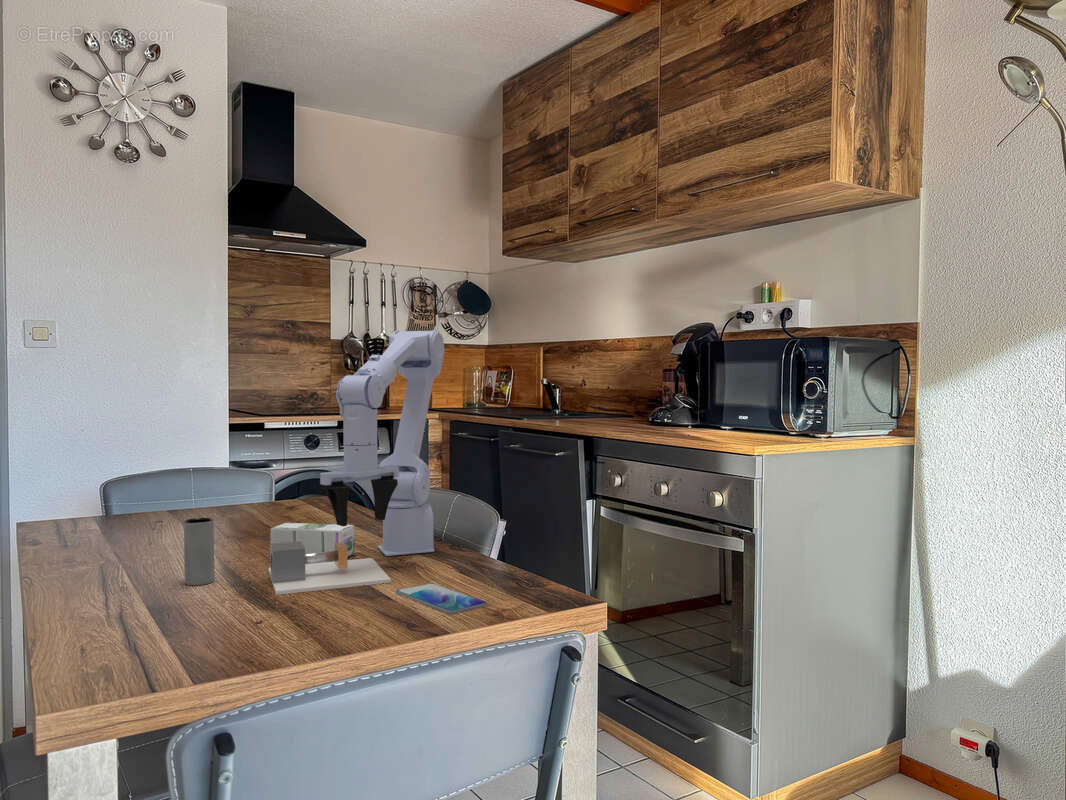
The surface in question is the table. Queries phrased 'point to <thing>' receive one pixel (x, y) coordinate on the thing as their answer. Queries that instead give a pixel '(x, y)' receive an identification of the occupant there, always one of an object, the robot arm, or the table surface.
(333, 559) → the shaft
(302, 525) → the syrup box
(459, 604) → the smartphone
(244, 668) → the table surface
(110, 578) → the table surface
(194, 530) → the grey cylinder
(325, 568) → the mounting plate
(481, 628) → the table surface
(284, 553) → the bearing block
